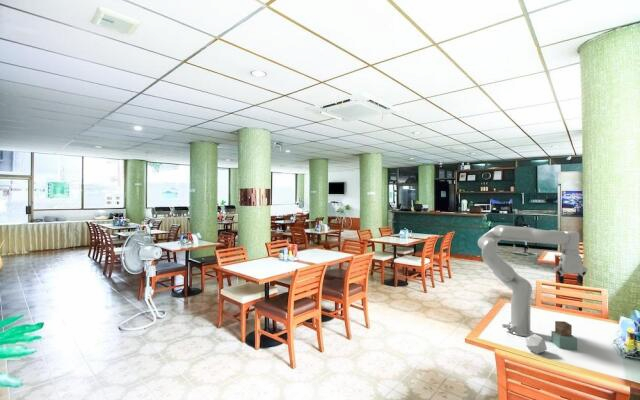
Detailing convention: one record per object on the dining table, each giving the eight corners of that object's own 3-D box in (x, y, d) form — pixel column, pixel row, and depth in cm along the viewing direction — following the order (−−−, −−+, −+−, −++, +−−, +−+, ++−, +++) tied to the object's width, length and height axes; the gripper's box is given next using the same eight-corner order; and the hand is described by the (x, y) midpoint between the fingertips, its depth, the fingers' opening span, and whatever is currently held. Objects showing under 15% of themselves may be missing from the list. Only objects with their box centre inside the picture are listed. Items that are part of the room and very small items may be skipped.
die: (531, 347, 166) (520, 332, 165) (549, 343, 161) (538, 327, 160) (533, 359, 158) (521, 344, 158) (552, 356, 154) (540, 339, 153)
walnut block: (561, 336, 165) (561, 324, 165) (555, 332, 170) (555, 321, 170) (571, 336, 164) (571, 325, 164) (565, 332, 169) (565, 321, 169)
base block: (559, 348, 163) (559, 337, 163) (551, 342, 171) (551, 330, 171) (577, 350, 162) (577, 338, 162) (568, 343, 170) (568, 332, 170)
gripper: (558, 253, 175) (558, 284, 175) (592, 254, 173) (592, 285, 173) (550, 251, 182) (549, 280, 182) (582, 252, 181) (582, 281, 181)
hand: (570, 283), depth 178 cm, fingers open, 9 cm apart
